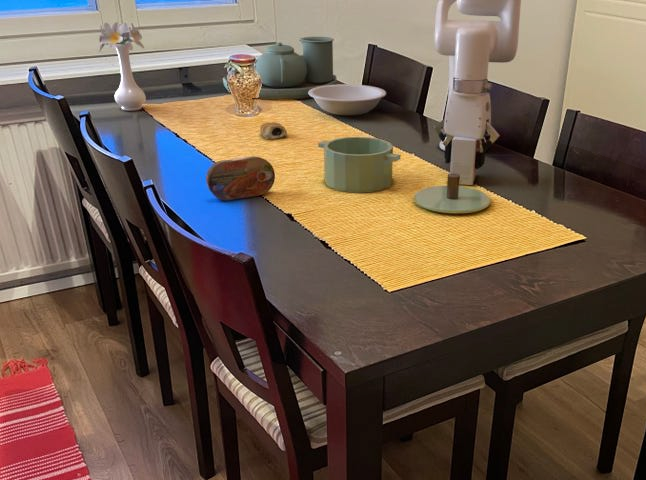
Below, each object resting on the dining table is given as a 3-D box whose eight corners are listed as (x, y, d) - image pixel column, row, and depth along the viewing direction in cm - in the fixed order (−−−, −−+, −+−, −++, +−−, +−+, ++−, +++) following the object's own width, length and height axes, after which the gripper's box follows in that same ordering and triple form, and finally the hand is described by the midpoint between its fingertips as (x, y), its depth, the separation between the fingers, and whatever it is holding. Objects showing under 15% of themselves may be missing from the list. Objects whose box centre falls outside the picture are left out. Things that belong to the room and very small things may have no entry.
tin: (210, 203, 160) (206, 164, 156) (206, 198, 162) (202, 160, 158) (276, 193, 166) (274, 156, 162) (271, 189, 169) (269, 152, 164)
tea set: (304, 74, 286) (303, 27, 277) (357, 93, 257) (357, 42, 249) (206, 83, 267) (201, 34, 259) (251, 105, 239) (247, 51, 230)
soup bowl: (400, 112, 235) (400, 90, 232) (357, 127, 218) (357, 104, 214) (338, 101, 246) (338, 81, 242) (293, 115, 228) (292, 93, 225)
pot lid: (435, 186, 173) (437, 159, 169) (501, 199, 166) (504, 171, 162) (400, 206, 160) (401, 178, 157) (470, 221, 153) (472, 192, 150)
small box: (472, 186, 173) (476, 140, 168) (448, 184, 174) (451, 138, 169) (476, 175, 180) (479, 131, 174) (453, 174, 181) (456, 130, 175)
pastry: (255, 132, 211) (254, 118, 209) (277, 130, 213) (276, 116, 212) (266, 140, 204) (265, 126, 202) (289, 138, 206) (289, 124, 205)
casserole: (339, 166, 185) (339, 131, 180) (413, 180, 176) (414, 145, 171) (302, 182, 173) (301, 146, 169) (379, 199, 164) (380, 161, 160)
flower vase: (147, 100, 243) (135, 17, 230) (156, 113, 228) (143, 24, 215) (105, 103, 238) (91, 18, 225) (112, 116, 224) (96, 26, 211)
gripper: (512, 88, 165) (504, 167, 174) (442, 79, 172) (438, 155, 182) (499, 93, 159) (491, 175, 169) (427, 84, 167) (423, 162, 176)
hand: (463, 164), depth 175 cm, fingers closed on small box, 7 cm apart
